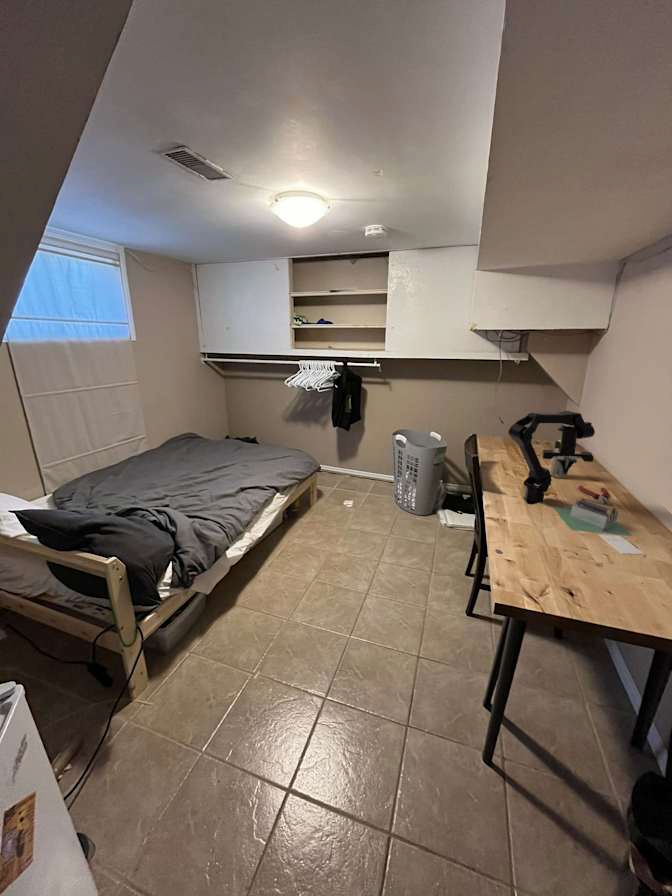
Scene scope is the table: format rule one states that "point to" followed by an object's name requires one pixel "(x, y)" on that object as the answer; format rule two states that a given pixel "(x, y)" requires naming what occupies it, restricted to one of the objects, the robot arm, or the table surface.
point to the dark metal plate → (595, 506)
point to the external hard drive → (621, 544)
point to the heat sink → (593, 516)
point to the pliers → (596, 496)
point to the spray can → (558, 467)
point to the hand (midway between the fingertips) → (564, 473)
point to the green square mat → (578, 526)
